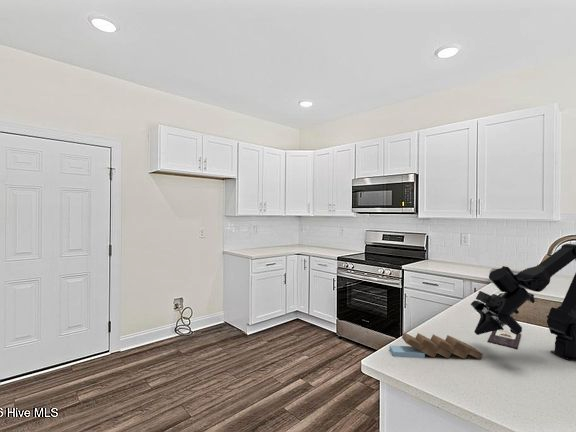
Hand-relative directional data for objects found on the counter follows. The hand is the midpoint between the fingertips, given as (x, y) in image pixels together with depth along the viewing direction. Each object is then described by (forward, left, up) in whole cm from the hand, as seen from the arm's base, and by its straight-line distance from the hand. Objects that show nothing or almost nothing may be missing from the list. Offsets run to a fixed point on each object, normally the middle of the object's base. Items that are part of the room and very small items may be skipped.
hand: (475, 333), depth 104 cm
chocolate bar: (-23, -12, -8) cm, 28 cm away
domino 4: (+4, -1, -7) cm, 8 cm away
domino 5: (-1, 0, -7) cm, 7 cm away
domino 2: (+14, -2, -7) cm, 16 cm away
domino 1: (+18, -3, -7) cm, 19 cm away
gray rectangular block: (-114, -98, -8) cm, 151 cm away
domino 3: (+10, -1, -7) cm, 12 cm away
